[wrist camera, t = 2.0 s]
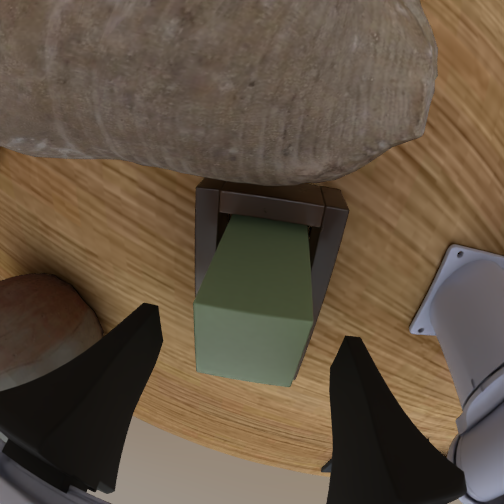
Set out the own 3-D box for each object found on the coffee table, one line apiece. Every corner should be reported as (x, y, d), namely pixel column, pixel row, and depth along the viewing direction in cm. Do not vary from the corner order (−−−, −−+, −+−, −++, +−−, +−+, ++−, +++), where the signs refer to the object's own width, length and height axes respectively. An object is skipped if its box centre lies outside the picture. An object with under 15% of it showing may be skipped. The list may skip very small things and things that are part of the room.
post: (306, 211, 17) (313, 322, 9) (294, 268, 19) (290, 387, 11) (238, 201, 17) (192, 302, 10) (233, 258, 19) (195, 372, 12)
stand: (340, 189, 16) (349, 210, 14) (296, 350, 23) (295, 380, 21) (211, 170, 16) (195, 186, 14) (206, 336, 24) (197, 364, 21)
